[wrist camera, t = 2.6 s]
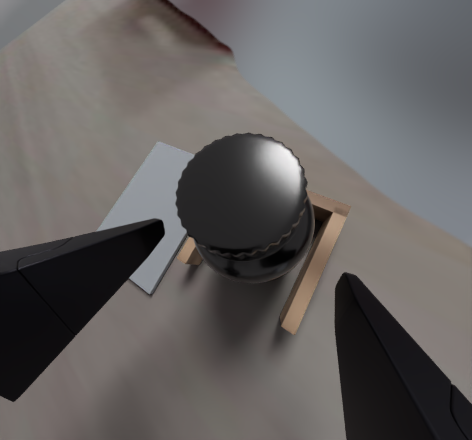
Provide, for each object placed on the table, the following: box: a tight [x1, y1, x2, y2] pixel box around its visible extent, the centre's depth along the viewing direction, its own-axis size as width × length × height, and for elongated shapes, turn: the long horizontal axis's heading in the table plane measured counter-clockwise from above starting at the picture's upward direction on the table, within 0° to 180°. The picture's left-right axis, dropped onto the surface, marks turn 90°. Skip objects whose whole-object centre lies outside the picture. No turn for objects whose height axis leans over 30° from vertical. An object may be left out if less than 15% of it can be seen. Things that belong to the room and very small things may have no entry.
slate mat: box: [96, 141, 195, 294], centre depth 21 cm, size 16×11×1 cm
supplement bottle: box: [175, 133, 315, 283], centre depth 12 cm, size 7×7×12 cm
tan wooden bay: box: [177, 190, 351, 335], centre depth 16 cm, size 10×11×3 cm
